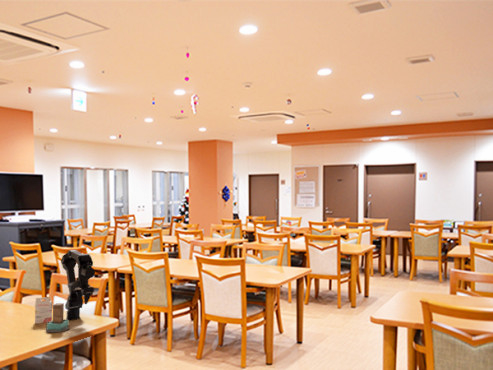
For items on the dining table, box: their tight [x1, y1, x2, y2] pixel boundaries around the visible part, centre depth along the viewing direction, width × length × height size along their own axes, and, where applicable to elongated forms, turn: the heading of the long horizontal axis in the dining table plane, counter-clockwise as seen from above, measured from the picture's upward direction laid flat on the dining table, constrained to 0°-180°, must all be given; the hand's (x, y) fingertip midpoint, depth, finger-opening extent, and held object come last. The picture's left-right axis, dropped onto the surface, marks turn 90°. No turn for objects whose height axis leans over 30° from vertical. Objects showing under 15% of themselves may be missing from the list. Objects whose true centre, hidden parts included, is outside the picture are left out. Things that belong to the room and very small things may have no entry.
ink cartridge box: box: [34, 296, 53, 324], centre depth 248 cm, size 9×5×15 cm, turn 105°
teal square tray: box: [45, 319, 70, 334], centre depth 233 cm, size 12×12×4 cm
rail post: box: [52, 302, 65, 323], centre depth 233 cm, size 4×4×13 cm
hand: (82, 302), depth 244 cm, fingers open, 9 cm apart
